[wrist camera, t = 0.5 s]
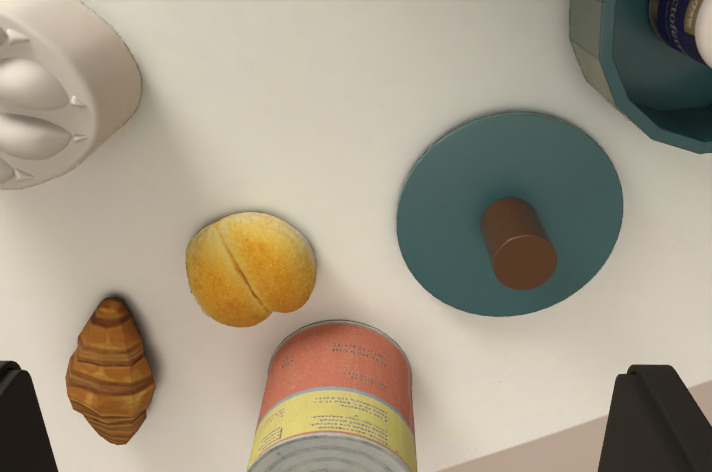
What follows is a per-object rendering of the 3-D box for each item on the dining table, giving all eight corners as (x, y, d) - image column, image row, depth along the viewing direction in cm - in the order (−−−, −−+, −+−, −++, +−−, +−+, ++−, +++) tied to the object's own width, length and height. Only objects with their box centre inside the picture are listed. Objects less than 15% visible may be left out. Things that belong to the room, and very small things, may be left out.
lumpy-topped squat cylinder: (-77, -39, 39) (-189, -23, 31) (144, 4, 40) (89, 30, 32) (-59, 129, 44) (-153, 178, 36) (139, 164, 44) (89, 220, 37)
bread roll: (334, 285, 48) (331, 316, 45) (225, 323, 50) (214, 355, 47) (286, 188, 45) (279, 213, 41) (171, 232, 47) (154, 260, 43)
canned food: (240, 385, 53) (205, 509, 42) (328, 293, 49) (315, 404, 38) (349, 455, 56) (343, 586, 45) (441, 373, 52) (458, 497, 41)
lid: (387, 121, 43) (388, 156, 37) (626, 97, 42) (667, 130, 36) (404, 315, 49) (408, 372, 44) (611, 300, 48) (643, 356, 42)
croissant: (69, 286, 49) (38, 324, 45) (161, 296, 49) (139, 335, 45) (83, 425, 55) (57, 471, 51) (165, 433, 55) (146, 480, 51)
